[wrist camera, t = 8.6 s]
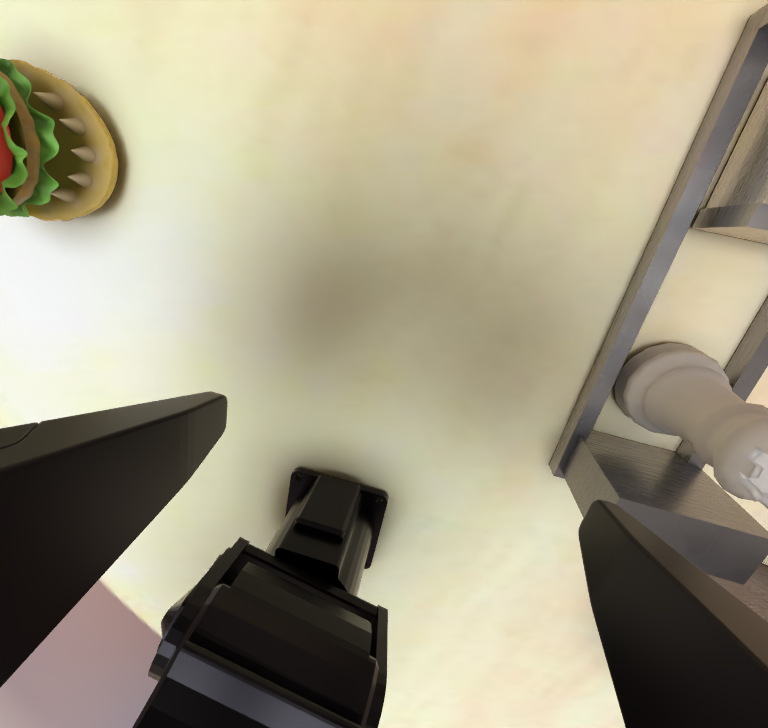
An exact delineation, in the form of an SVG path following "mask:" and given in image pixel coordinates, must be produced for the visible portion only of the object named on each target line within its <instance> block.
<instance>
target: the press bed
mask: <svg viewBox="0 0 768 728" xmlns="http://www.w3.org/2000/svg"><path fill="white" fill-rule="evenodd" d="M767 63H768V4H766V5H765V6H764V7H762V8H761V9H760V10H758V11H757V12H756V13H754V14H753V15H751V16H750V18H749V20H748V22H747V24H746V27H745V29H744V31H743V33H742V36H741V38H740V40H739V42H738V44H737V47H736V49H735V51H734V53H733V56H732V58H731V60H730V62H729V65H728V67H727V69H726V71H725V73H724V76H723V78H722V80H721V82H720V85H719V87H718V89H717V91H716V94H715V96H714V98H713V100H712V102H711V105H710V107H709V109H708V111H707V114H706V116H705V118H704V120H703V123H702V125H701V127H700V129H699V131H698V134H697V136H696V138H695V140H694V143H693V145H692V147H691V149H690V152H689V154H688V156H687V158H686V160H685V163H684V165H683V167H682V169H681V172H680V174H679V176H678V178H677V181H676V183H675V185H674V187H673V189H672V192H671V194H670V196H669V198H668V201H667V203H666V205H665V207H664V210H663V212H662V214H661V216H660V218H659V221H658V223H657V225H656V227H655V230H654V232H653V234H652V236H651V238H650V241H649V243H648V245H647V247H646V250H645V252H644V254H643V256H642V259H641V261H640V263H639V265H638V267H637V270H636V272H635V274H634V276H633V279H632V281H631V283H630V285H629V288H628V290H627V292H626V294H625V296H624V299H623V301H622V303H621V305H620V308H619V310H618V312H617V314H616V317H615V319H614V321H613V323H612V325H611V328H610V330H609V332H608V334H607V337H606V339H605V341H604V343H603V346H602V348H601V350H600V352H599V354H598V357H597V359H596V361H595V363H594V366H593V368H592V370H591V372H590V375H589V377H588V379H587V381H586V383H585V386H584V388H583V390H582V392H581V395H580V397H579V399H578V401H577V404H576V406H575V408H574V410H573V412H572V415H571V417H570V419H569V421H568V424H567V426H566V428H565V430H564V433H563V435H562V437H561V439H560V441H559V444H558V446H557V448H556V450H555V453H554V455H553V457H552V459H551V462H550V464H549V466H550V469H551V471H552V473H553V476H557V477H560V478H564V479H565V480H566V482H567V484H568V486H569V488H570V490H571V492H572V494H573V497H574V499H575V501H576V503H577V505H578V507H579V509H580V511H581V513H582V516H583V518H584V517H585V515H586V513H587V511H588V509H589V507H590V505H591V504H592V502H593V501H594V500H597V499H600V500H604V501H608V502H611V503H614V504H617V505H618V506H619V507H621V508H622V509H623V510H625V511H626V512H627V513H628V514H630V515H631V516H632V517H634V518H635V519H636V520H637V521H639V522H640V523H641V524H643V525H644V526H645V527H646V528H648V529H649V530H650V531H652V532H653V533H654V534H655V535H657V536H658V537H659V538H661V539H662V540H663V541H664V542H666V543H667V544H668V545H670V546H671V547H672V548H673V549H675V550H676V551H677V552H679V553H680V554H681V555H682V556H684V557H685V558H686V559H688V560H689V561H690V562H691V563H693V564H694V565H695V566H697V567H698V568H699V569H700V570H702V571H703V572H704V573H706V574H708V575H711V576H715V577H718V578H722V579H725V580H729V581H732V582H735V583H739V584H742V585H744V584H745V583H746V582H747V580H748V579H749V578H750V577H751V575H752V574H753V573H754V572H755V570H756V569H757V568H758V567H759V565H760V564H761V563H762V562H763V560H764V559H765V558H766V557H767V555H768V531H767V530H766V529H764V528H763V527H762V526H761V525H760V524H759V523H758V522H757V521H756V520H755V519H754V518H753V517H752V516H751V515H750V514H748V513H747V512H746V511H745V510H744V509H743V508H742V507H741V506H740V505H739V504H738V503H737V502H736V501H735V500H733V499H732V498H731V497H730V496H729V495H728V494H727V493H726V492H725V491H724V490H723V489H722V488H721V487H720V486H718V485H717V484H716V483H715V482H714V481H713V480H712V479H711V478H710V477H709V476H708V475H707V474H706V473H705V472H703V471H702V469H703V467H704V465H705V464H706V463H705V462H703V461H702V460H701V459H700V458H699V456H698V455H697V453H696V452H695V450H694V446H693V445H692V444H691V443H689V442H687V441H686V440H683V441H682V443H681V445H680V446H679V448H678V450H677V451H676V452H673V451H669V450H665V449H662V448H658V447H654V446H650V445H646V444H642V443H639V442H635V441H631V440H627V439H623V438H620V437H616V436H612V435H608V434H604V433H600V432H597V431H593V430H592V428H593V426H594V424H595V422H596V420H597V418H598V416H599V414H600V412H601V410H602V408H603V405H604V403H605V401H606V399H607V397H608V395H609V393H610V391H611V389H612V387H613V385H614V383H615V380H616V378H617V376H618V374H619V372H620V370H621V368H622V366H623V364H624V362H625V360H626V358H627V355H628V353H629V351H630V349H631V347H632V345H633V343H634V341H635V339H636V337H637V335H638V333H639V330H640V328H641V326H642V324H643V322H644V320H645V318H646V316H647V314H648V312H649V310H650V307H651V305H652V303H653V301H654V299H655V297H656V295H657V293H658V291H659V289H660V287H661V285H662V282H663V280H664V278H665V276H666V274H667V272H668V270H669V268H670V266H671V264H672V262H673V260H674V257H675V255H676V253H677V251H678V249H679V247H680V245H681V243H682V241H683V239H684V237H685V234H686V232H687V230H688V228H689V226H690V224H691V222H692V220H693V218H694V216H695V214H696V212H697V209H698V207H699V205H700V203H701V201H702V199H703V197H704V195H705V193H706V191H707V189H708V187H709V184H710V182H711V180H712V178H713V176H714V174H715V172H716V170H717V168H718V166H719V164H720V162H721V159H722V157H723V155H724V153H725V151H726V149H727V147H728V145H729V143H730V141H731V139H732V136H733V134H734V132H735V130H736V128H737V126H738V124H739V122H740V120H741V118H742V116H743V114H744V111H745V109H746V107H747V105H748V103H749V101H750V99H751V97H752V95H753V93H754V91H755V89H756V86H757V84H758V82H759V80H760V78H761V76H762V74H763V72H764V70H765V68H766V66H767ZM767 366H768V298H767V299H766V301H765V303H764V304H763V306H762V308H761V309H760V311H759V313H758V314H757V316H756V318H755V319H754V321H753V323H752V325H751V326H750V328H749V330H748V331H747V333H746V335H745V336H744V338H743V340H742V341H741V343H740V345H739V347H738V348H737V350H736V352H735V353H734V355H733V357H732V358H731V360H730V362H729V363H728V365H727V367H726V369H725V370H724V372H725V374H726V375H727V377H728V379H729V384H730V386H731V387H732V391H733V392H734V393H735V394H736V395H737V396H739V397H740V398H741V399H742V400H744V401H746V399H747V398H748V396H749V395H750V393H751V391H752V390H753V388H754V387H755V385H756V384H757V382H758V380H759V379H760V377H761V376H762V374H763V373H764V371H765V369H766V368H767Z"/></svg>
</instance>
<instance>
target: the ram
mask: <svg viewBox="0 0 768 728" xmlns="http://www.w3.org/2000/svg"><path fill="white" fill-rule="evenodd" d="M692 228H694V229H699V230H703V231H708V232H713V233H718V234H722V235H727V236H732V237H737V238H741V239H746V240H751V241H756V242H761V243H765V244H768V81H767V83H766V85H765V87H764V89H763V91H762V93H761V95H760V97H759V99H758V101H757V103H756V105H755V107H754V109H753V112H752V114H751V116H750V118H749V120H748V122H747V124H746V126H745V128H744V130H743V132H742V134H741V136H740V138H739V140H738V142H737V144H736V146H735V149H734V151H733V153H732V155H731V157H730V159H729V161H728V163H727V165H726V167H725V169H724V171H723V173H722V175H721V177H720V179H719V181H718V183H717V186H716V188H715V190H714V192H713V194H712V196H711V198H710V200H709V202H708V204H707V206H706V208H704V209H701V211H700V213H699V215H698V217H697V219H696V221H695V223H694V225H693V227H692Z"/></svg>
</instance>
